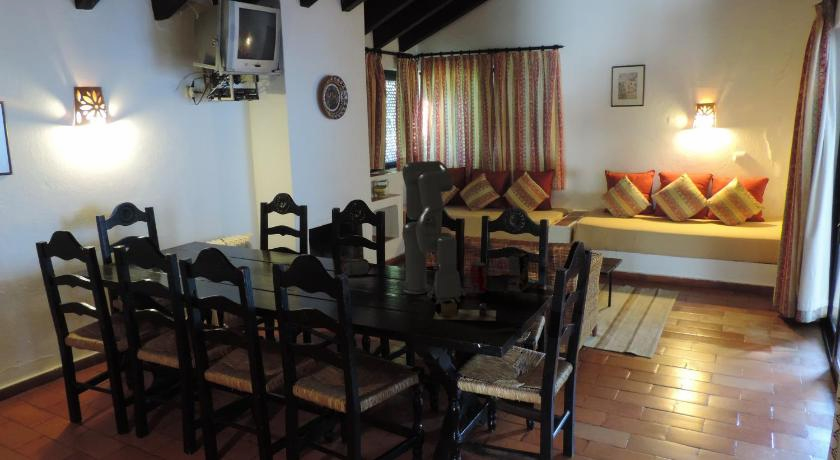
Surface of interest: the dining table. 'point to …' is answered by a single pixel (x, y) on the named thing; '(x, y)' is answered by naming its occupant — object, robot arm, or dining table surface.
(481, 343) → the dining table surface
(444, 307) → the collar
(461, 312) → the board
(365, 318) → the dining table surface
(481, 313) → the hub
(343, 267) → the tin
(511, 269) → the coffee box
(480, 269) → the soda can
